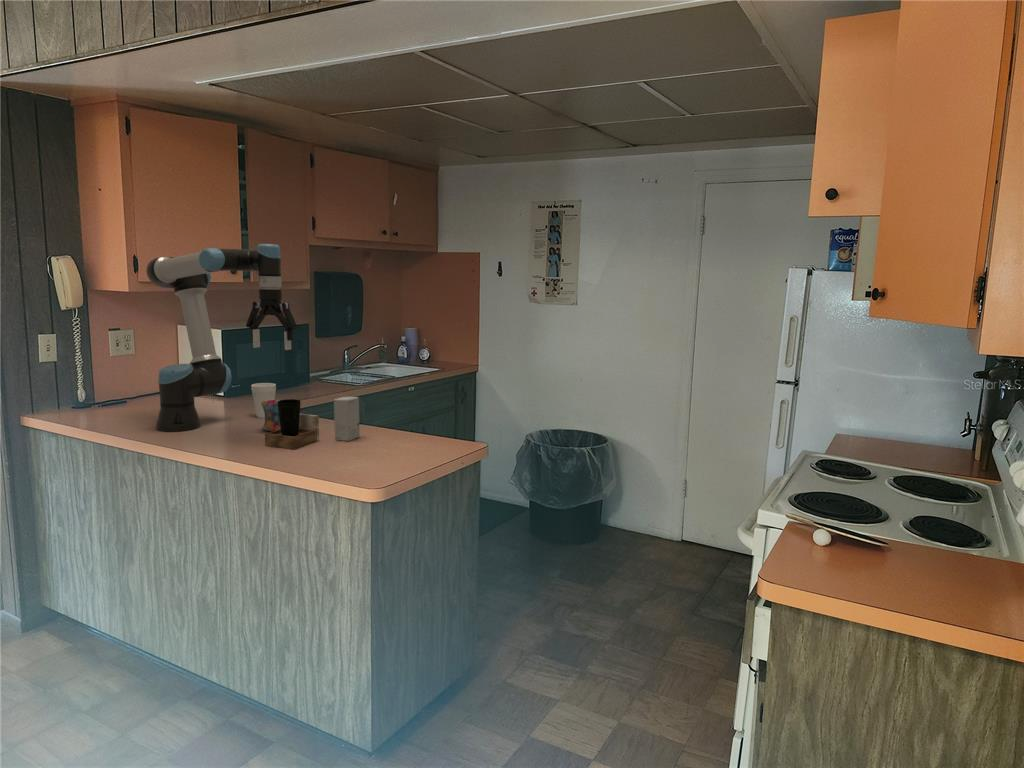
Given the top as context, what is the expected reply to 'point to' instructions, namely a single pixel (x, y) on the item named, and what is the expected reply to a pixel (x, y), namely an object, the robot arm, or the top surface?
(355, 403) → the skincare box
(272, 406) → the colourful snack bag
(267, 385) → the foam cup
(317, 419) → the display pedestal
